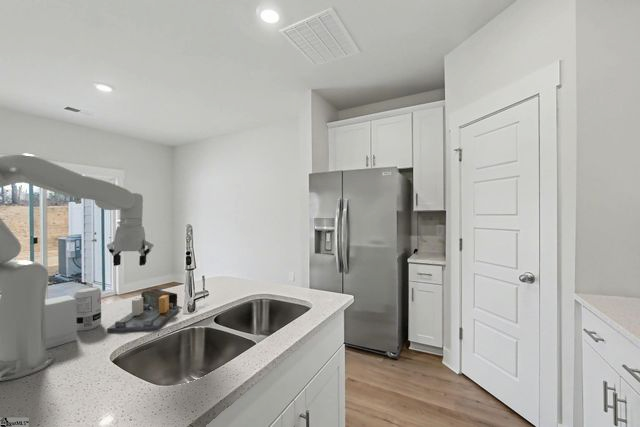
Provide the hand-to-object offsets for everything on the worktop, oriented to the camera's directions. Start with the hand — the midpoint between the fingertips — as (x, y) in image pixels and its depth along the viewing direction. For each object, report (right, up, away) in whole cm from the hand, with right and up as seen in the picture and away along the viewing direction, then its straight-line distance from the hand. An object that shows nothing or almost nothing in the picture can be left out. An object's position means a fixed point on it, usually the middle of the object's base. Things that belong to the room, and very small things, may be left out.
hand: (129, 265), depth 111 cm
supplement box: (-16, -25, -14) cm, 33 cm away
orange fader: (+9, -22, +9) cm, 25 cm away
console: (+4, -24, +4) cm, 25 cm away
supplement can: (-15, -25, -2) cm, 29 cm away
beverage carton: (-2, -24, +24) cm, 34 cm away
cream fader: (-1, -22, +6) cm, 23 cm away
